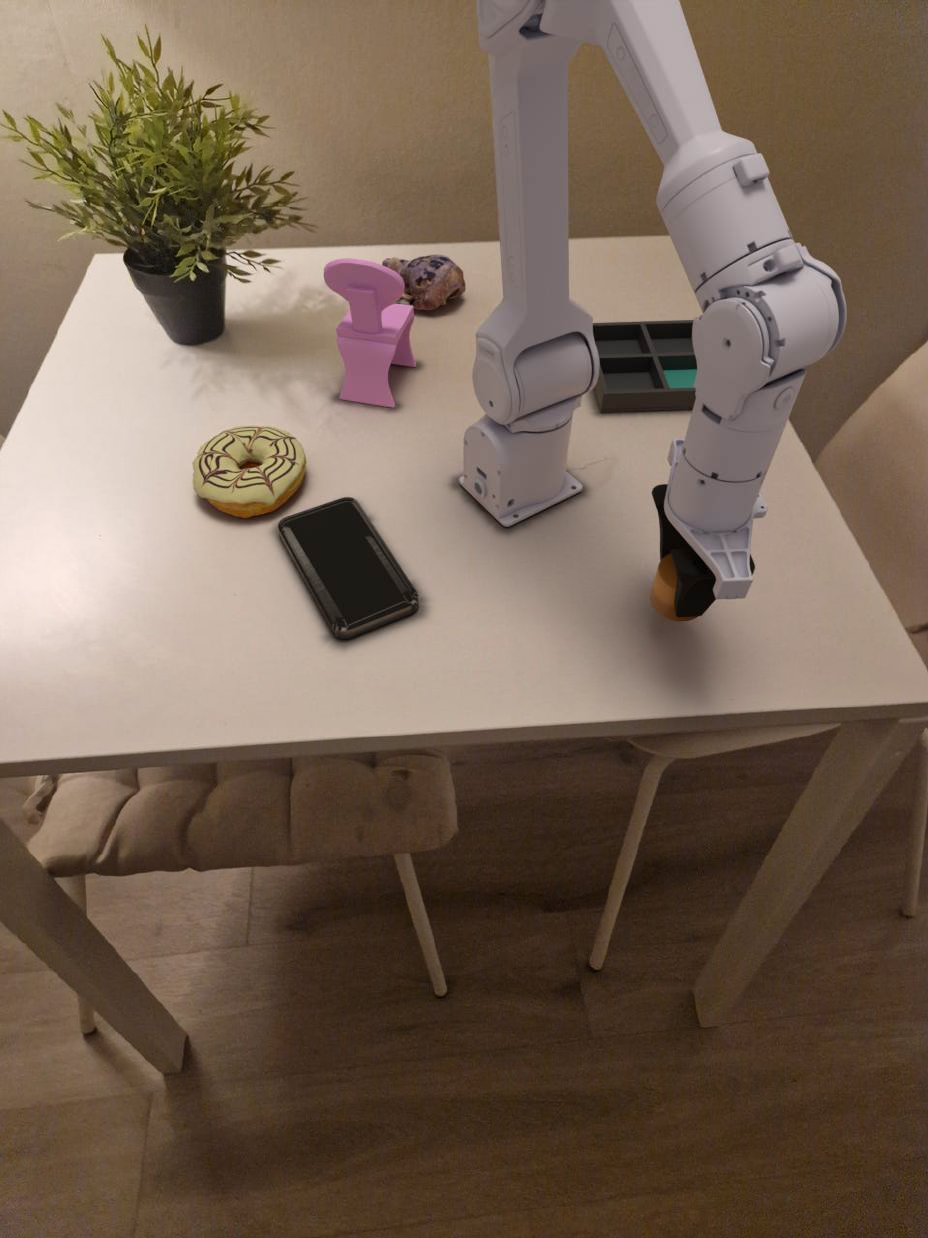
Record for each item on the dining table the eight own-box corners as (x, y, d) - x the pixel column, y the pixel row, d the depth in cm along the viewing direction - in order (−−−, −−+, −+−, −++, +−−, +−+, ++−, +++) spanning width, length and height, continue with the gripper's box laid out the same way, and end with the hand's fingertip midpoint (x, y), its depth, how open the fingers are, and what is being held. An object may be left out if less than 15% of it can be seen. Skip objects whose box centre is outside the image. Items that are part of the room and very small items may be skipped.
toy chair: (426, 364, 91) (421, 231, 79) (403, 409, 85) (394, 273, 74) (357, 353, 92) (342, 221, 80) (330, 397, 86) (310, 262, 75)
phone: (336, 635, 64) (274, 520, 72) (338, 643, 65) (276, 529, 73) (424, 600, 66) (354, 493, 75) (424, 609, 67) (355, 502, 76)
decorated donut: (183, 517, 75) (171, 486, 72) (219, 445, 81) (210, 414, 78) (291, 526, 74) (284, 496, 71) (319, 453, 80) (313, 422, 77)
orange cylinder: (676, 630, 62) (686, 601, 59) (638, 595, 64) (646, 566, 62) (716, 606, 64) (727, 577, 61) (677, 572, 66) (686, 543, 63)
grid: (727, 408, 86) (732, 389, 84) (600, 412, 85) (603, 393, 83) (695, 337, 94) (700, 319, 92) (580, 341, 94) (582, 322, 92)
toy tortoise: (367, 281, 101) (370, 232, 97) (415, 271, 105) (419, 223, 101) (425, 325, 96) (431, 275, 91) (473, 312, 100) (481, 263, 95)
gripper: (823, 528, 48) (757, 661, 58) (753, 386, 57) (707, 523, 68) (708, 533, 48) (663, 665, 58) (656, 390, 57) (625, 526, 67)
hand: (681, 589), depth 63 cm, fingers closed on orange cylinder, 4 cm apart
